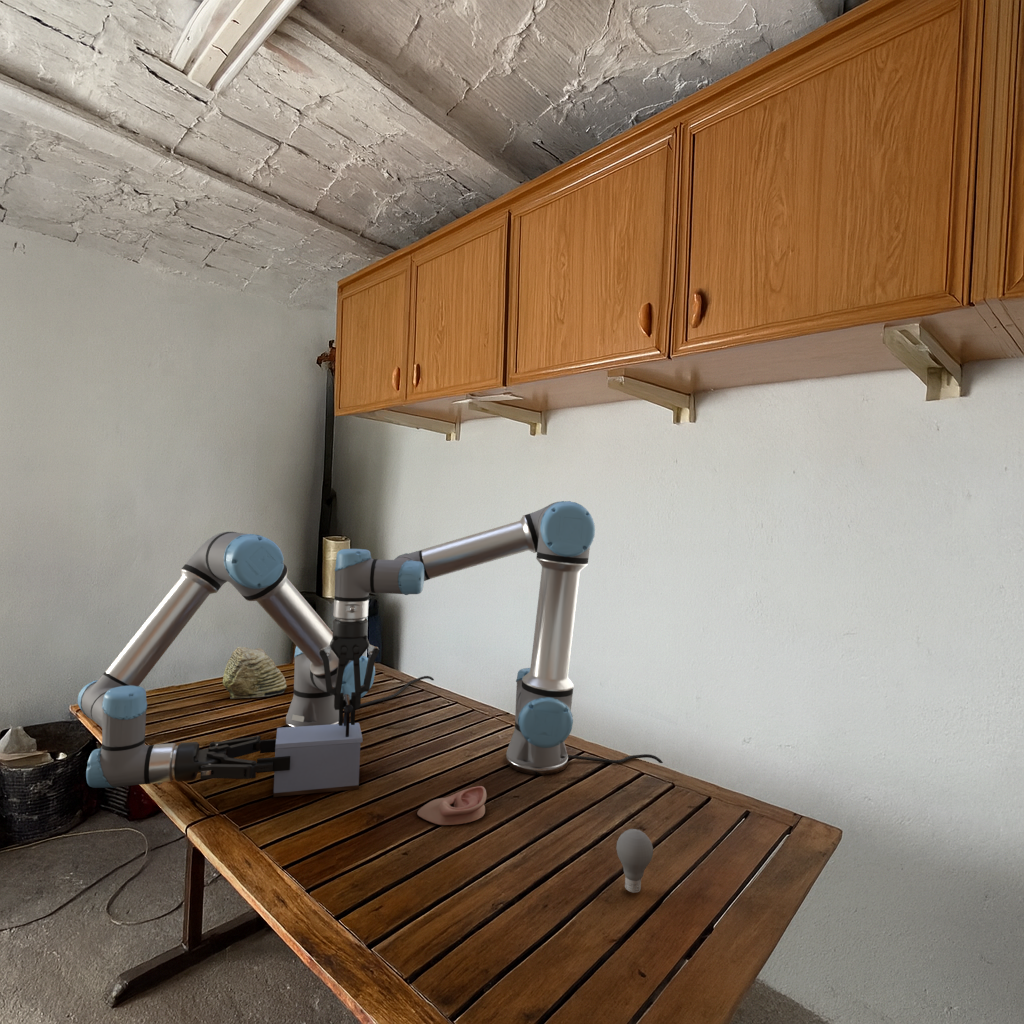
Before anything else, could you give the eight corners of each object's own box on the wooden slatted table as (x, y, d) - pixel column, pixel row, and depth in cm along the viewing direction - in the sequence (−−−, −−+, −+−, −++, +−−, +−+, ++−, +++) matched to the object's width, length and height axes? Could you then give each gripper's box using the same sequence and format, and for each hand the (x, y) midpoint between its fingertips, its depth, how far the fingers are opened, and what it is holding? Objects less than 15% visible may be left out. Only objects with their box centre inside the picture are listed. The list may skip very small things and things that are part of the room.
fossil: (218, 695, 195) (220, 647, 195) (278, 685, 208) (279, 640, 207) (228, 703, 189) (230, 653, 188) (289, 692, 201) (290, 645, 201)
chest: (355, 770, 147) (357, 727, 147) (358, 788, 138) (360, 742, 138) (275, 777, 142) (277, 732, 142) (273, 797, 133) (275, 749, 132)
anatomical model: (412, 801, 125) (431, 776, 136) (411, 820, 125) (430, 795, 136) (477, 810, 122) (491, 784, 134) (476, 830, 122) (490, 803, 134)
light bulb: (610, 879, 108) (613, 822, 108) (644, 879, 109) (647, 822, 109) (619, 902, 102) (622, 840, 102) (655, 901, 103) (658, 840, 103)
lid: (358, 726, 147) (360, 692, 147) (362, 742, 138) (364, 705, 138) (277, 732, 142) (278, 695, 142) (275, 748, 132) (276, 710, 132)
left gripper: (185, 758, 142) (291, 750, 149) (164, 805, 121) (288, 793, 128) (186, 725, 142) (292, 718, 149) (165, 766, 120) (290, 756, 127)
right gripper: (316, 622, 135) (311, 731, 136) (386, 621, 140) (382, 726, 140) (315, 615, 142) (311, 719, 143) (382, 614, 147) (378, 715, 147)
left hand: (290, 753), depth 138 cm, fingers closed on chest, 10 cm apart
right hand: (346, 723), depth 142 cm, fingers closed on lid, 2 cm apart
